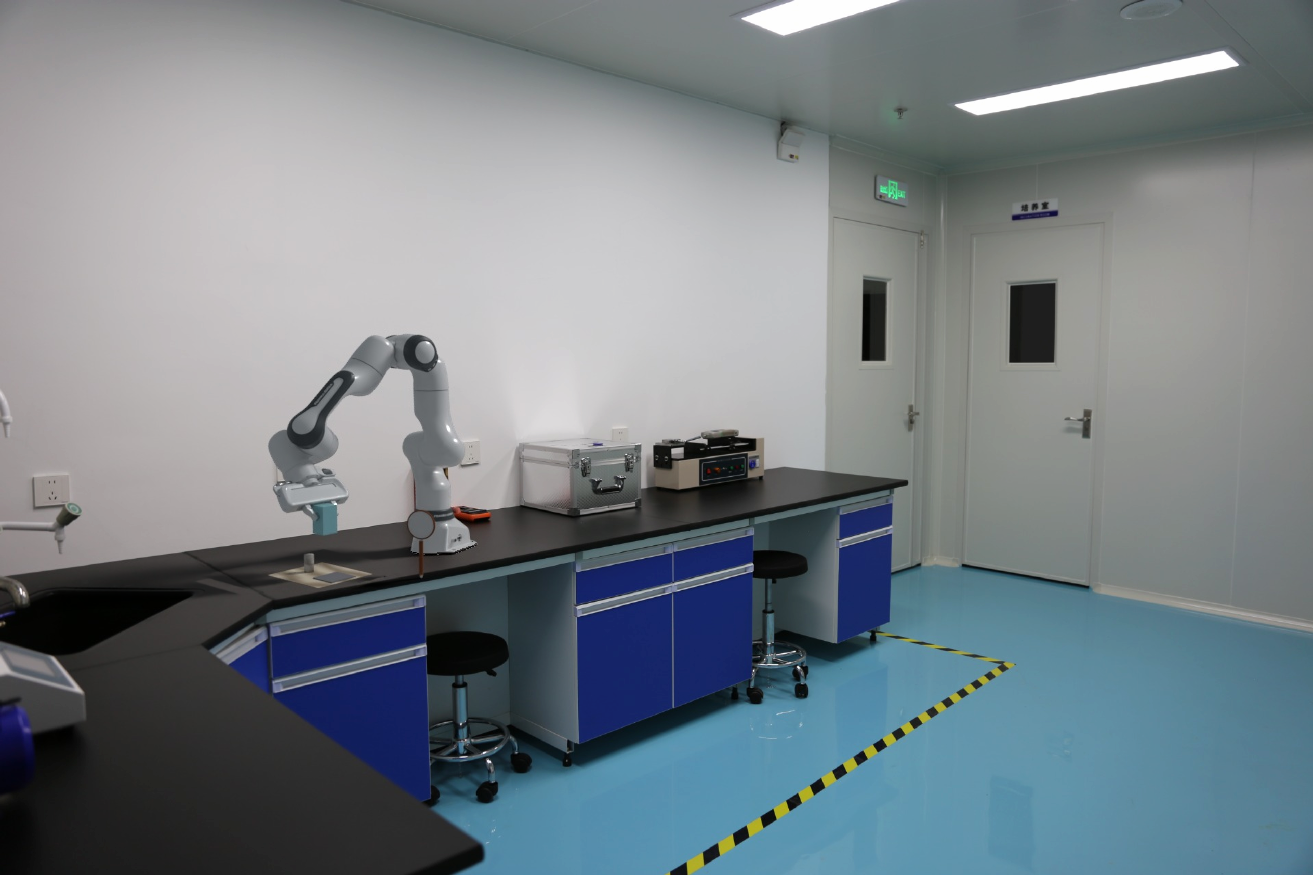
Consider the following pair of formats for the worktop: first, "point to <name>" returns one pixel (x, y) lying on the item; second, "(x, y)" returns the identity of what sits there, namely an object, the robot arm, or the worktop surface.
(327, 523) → the teal pillar
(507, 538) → the worktop surface
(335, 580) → the pad
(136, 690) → the worktop surface
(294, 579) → the post board
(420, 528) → the magnifying glass
